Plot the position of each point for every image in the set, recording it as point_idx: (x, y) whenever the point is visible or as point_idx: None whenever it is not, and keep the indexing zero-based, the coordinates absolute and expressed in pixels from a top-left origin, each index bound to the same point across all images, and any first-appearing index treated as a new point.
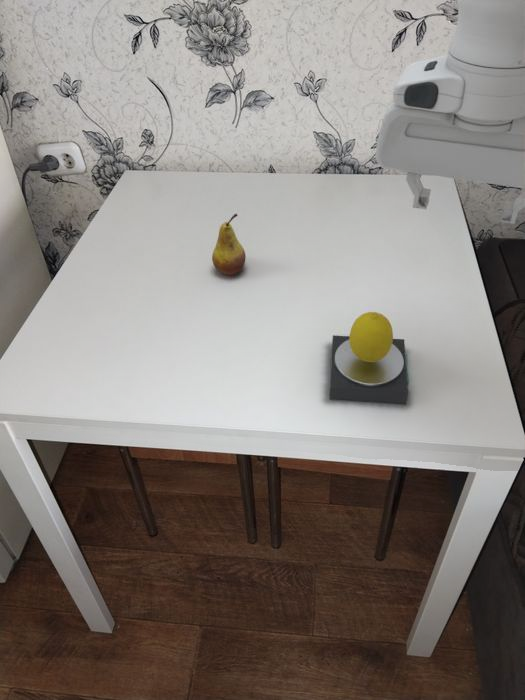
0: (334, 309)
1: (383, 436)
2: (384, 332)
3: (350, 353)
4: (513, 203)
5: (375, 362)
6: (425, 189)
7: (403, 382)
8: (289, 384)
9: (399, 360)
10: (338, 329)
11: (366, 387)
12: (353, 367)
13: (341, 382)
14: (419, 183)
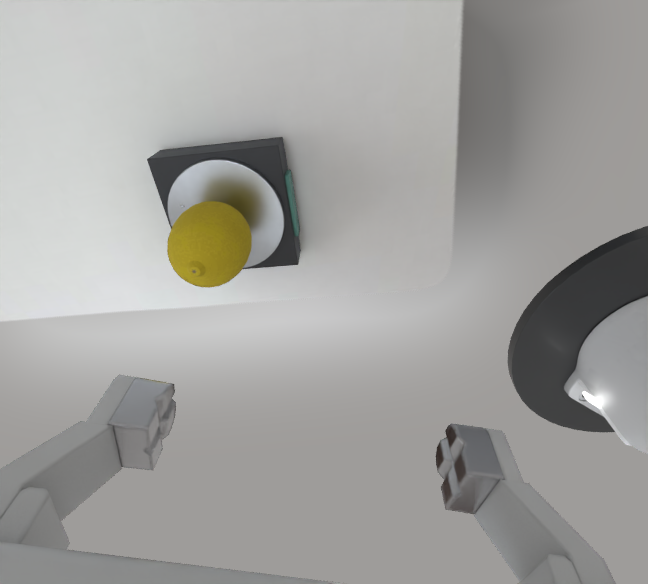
0: (117, 17)
1: (278, 300)
2: (228, 278)
3: None
4: (493, 486)
5: None
6: (125, 433)
7: (289, 248)
8: (130, 241)
9: (276, 214)
10: (151, 90)
11: None
12: None
13: None
14: (80, 469)
